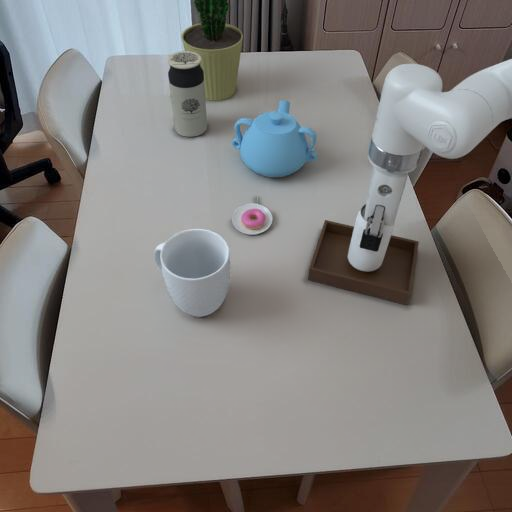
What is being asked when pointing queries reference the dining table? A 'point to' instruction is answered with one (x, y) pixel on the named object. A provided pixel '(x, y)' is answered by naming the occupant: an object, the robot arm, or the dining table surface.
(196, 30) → the potted cactus
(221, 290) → the mug
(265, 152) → the teapot
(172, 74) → the travel mug
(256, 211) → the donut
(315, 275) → the tray
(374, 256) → the can
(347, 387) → the dining table surface
